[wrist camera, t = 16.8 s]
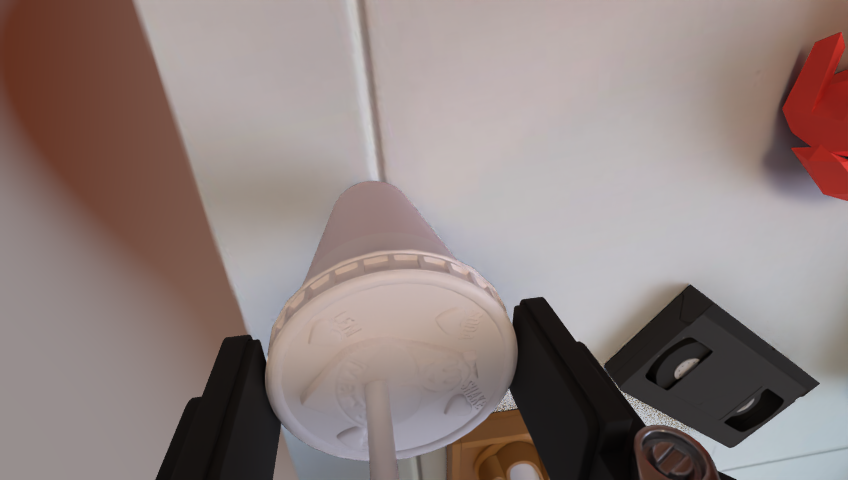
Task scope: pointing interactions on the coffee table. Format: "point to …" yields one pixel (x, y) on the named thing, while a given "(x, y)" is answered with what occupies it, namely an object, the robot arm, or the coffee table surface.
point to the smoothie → (387, 339)
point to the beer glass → (510, 462)
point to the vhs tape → (708, 370)
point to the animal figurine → (822, 117)
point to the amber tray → (483, 442)
